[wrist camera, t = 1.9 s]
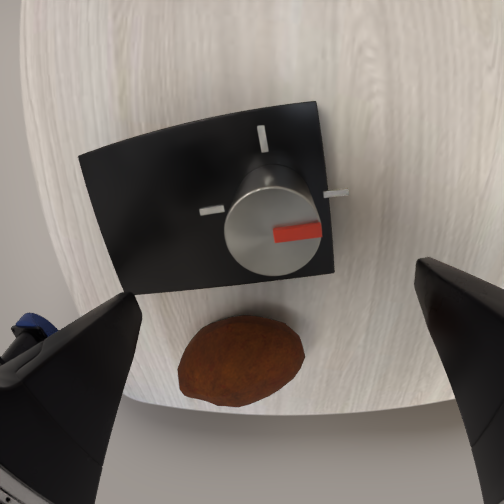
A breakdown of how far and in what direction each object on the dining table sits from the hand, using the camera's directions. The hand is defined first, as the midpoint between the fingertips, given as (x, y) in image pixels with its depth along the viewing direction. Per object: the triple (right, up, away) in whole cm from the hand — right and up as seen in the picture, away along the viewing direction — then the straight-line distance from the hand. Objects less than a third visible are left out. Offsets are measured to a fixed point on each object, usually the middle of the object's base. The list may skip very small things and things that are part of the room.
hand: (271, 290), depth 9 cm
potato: (-1, -5, +15) cm, 16 cm away
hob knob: (+1, +4, +8) cm, 8 cm away
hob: (-3, +4, +10) cm, 12 cm away
